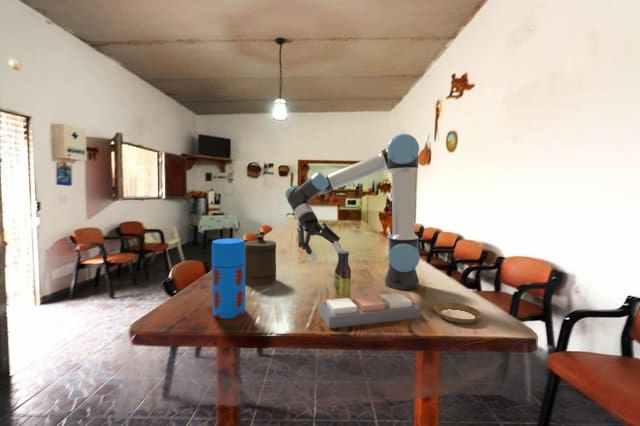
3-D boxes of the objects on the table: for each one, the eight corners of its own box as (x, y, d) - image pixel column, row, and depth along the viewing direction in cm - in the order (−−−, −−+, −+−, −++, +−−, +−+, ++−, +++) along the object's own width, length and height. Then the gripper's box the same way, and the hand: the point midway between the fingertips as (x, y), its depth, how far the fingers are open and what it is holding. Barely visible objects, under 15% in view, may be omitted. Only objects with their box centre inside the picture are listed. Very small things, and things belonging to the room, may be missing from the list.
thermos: (227, 321, 98) (226, 244, 96) (205, 314, 104) (204, 241, 102) (251, 310, 107) (251, 240, 106) (230, 304, 113) (230, 237, 111)
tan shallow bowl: (426, 309, 111) (426, 302, 111) (465, 308, 112) (465, 301, 112) (446, 327, 97) (446, 319, 96) (490, 326, 98) (490, 318, 98)
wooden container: (282, 279, 144) (282, 233, 143) (261, 288, 132) (261, 237, 130) (258, 275, 152) (258, 231, 150) (236, 282, 139) (236, 234, 138)
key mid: (374, 302, 109) (374, 295, 109) (384, 310, 101) (385, 303, 101) (353, 304, 107) (353, 297, 107) (362, 313, 99) (362, 305, 99)
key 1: (348, 304, 106) (348, 297, 106) (356, 313, 99) (357, 306, 99) (326, 306, 104) (326, 299, 104) (333, 316, 97) (333, 308, 96)
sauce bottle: (332, 300, 119) (333, 249, 117) (348, 299, 119) (349, 249, 118) (335, 306, 112) (335, 253, 111) (351, 306, 113) (352, 253, 111)
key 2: (399, 300, 112) (399, 293, 112) (411, 308, 104) (411, 301, 104) (379, 301, 110) (379, 295, 109) (390, 310, 102) (390, 303, 102)
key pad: (401, 304, 114) (401, 295, 114) (419, 318, 103) (420, 307, 103) (318, 313, 106) (319, 303, 106) (329, 328, 94) (329, 317, 94)
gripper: (324, 220, 140) (346, 259, 129) (277, 224, 124) (299, 268, 113) (332, 209, 135) (356, 248, 125) (285, 211, 119) (308, 256, 109)
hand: (329, 258), depth 119 cm, fingers open, 13 cm apart
